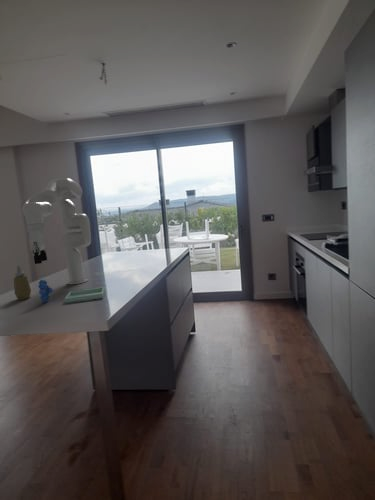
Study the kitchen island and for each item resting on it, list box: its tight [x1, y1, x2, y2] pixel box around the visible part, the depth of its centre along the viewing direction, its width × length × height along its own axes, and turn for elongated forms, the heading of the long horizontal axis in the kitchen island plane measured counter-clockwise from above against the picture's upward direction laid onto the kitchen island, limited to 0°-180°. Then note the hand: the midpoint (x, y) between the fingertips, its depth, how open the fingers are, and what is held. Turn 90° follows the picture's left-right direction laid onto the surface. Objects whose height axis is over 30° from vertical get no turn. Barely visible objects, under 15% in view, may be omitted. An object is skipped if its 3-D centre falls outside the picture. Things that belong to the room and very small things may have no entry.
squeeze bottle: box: [13, 265, 32, 301], centre depth 179 cm, size 8×8×18 cm
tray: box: [64, 286, 106, 304], centre depth 170 cm, size 14×18×2 cm
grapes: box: [37, 279, 54, 303], centre depth 167 cm, size 12×7×12 cm, turn 12°
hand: (41, 262), depth 165 cm, fingers open, 9 cm apart
